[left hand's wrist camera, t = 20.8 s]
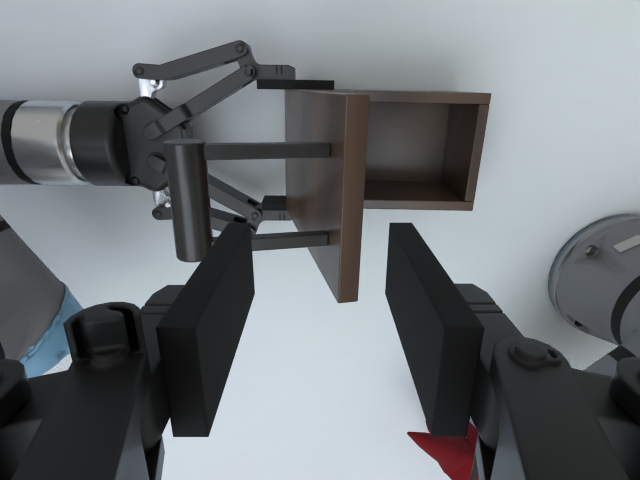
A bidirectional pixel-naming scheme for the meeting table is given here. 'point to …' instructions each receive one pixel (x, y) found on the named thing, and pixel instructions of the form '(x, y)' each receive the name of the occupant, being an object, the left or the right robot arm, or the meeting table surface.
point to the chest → (423, 148)
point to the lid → (289, 185)
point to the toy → (450, 451)
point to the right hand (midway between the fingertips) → (331, 147)
